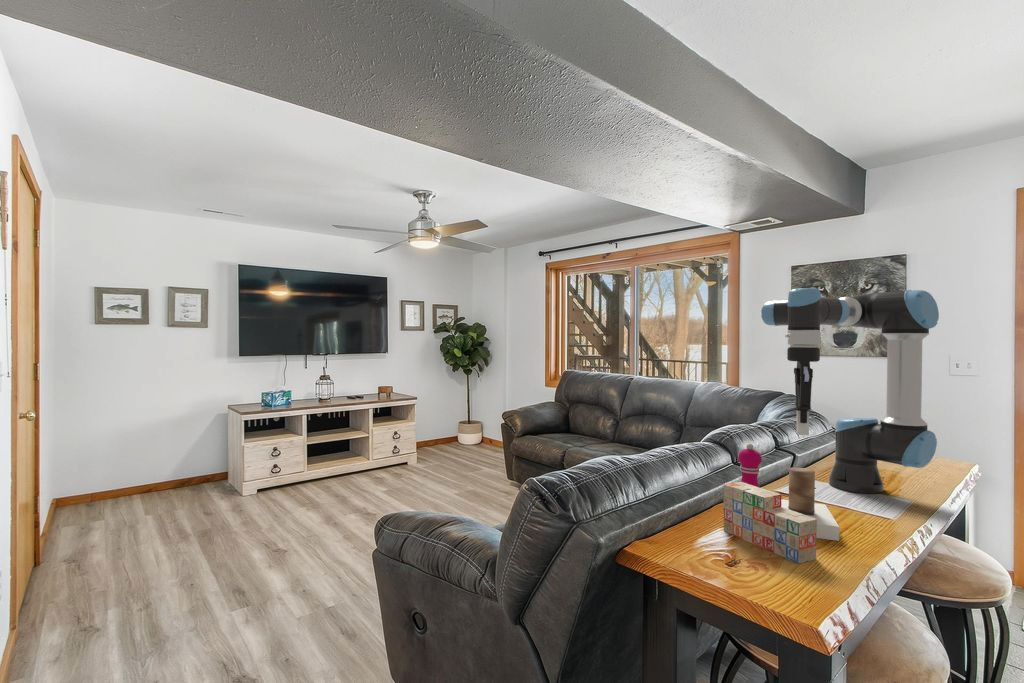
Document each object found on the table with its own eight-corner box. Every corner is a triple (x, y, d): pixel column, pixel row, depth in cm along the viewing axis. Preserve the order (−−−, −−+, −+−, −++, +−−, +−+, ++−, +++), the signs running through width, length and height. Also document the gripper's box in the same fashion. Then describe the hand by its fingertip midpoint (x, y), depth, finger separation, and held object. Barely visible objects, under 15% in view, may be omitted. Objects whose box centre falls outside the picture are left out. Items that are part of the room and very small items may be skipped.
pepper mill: (766, 519, 139) (767, 447, 139) (738, 517, 140) (739, 445, 140) (759, 510, 146) (760, 441, 146) (732, 508, 148) (733, 440, 147)
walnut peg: (812, 520, 137) (812, 468, 137) (816, 528, 132) (817, 474, 132) (786, 516, 140) (787, 466, 140) (789, 524, 134) (790, 471, 134)
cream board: (824, 516, 141) (825, 504, 141) (839, 540, 125) (839, 526, 125) (768, 510, 147) (769, 498, 147) (775, 532, 130) (775, 518, 130)
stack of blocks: (817, 560, 114) (818, 505, 114) (798, 564, 112) (799, 509, 112) (740, 527, 134) (740, 480, 134) (722, 530, 131) (723, 483, 131)
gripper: (784, 345, 143) (783, 429, 143) (790, 346, 131) (789, 438, 131) (815, 346, 140) (814, 431, 140) (824, 347, 128) (823, 440, 128)
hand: (802, 434), depth 136 cm, fingers closed
